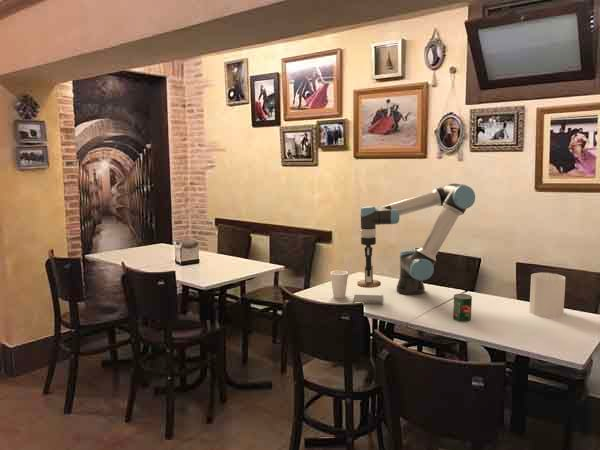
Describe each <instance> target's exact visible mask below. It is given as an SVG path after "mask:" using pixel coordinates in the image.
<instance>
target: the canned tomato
mask: <svg viewBox="0 0 600 450" xmlns="http://www.w3.org/2000/svg"><path fill="white" fill-rule="evenodd" d="M472 299H473V296H472V295H471V294H468V293H455V294H454V295H453V311H452V312H453V313H452V314H453V315H452V316H453V317H452V319H453V321H454V322H455V321H456V322H458V323H469V322H471V321H472V301H473V300H472Z"/></svg>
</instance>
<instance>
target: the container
mask: <svg viewBox="0 0 600 450" xmlns="http://www.w3.org/2000/svg"><path fill="white" fill-rule="evenodd" d="M565 292H566V276H564V275H561V274H558V273H551V272H534V273H531V274H530V291H529V293H530V294H529V314H531V315H533V316H536V317H541V318H546V319H559V318H562V317H563V316H564V313H565V312H564V310H565V297H566V295H565Z"/></svg>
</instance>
